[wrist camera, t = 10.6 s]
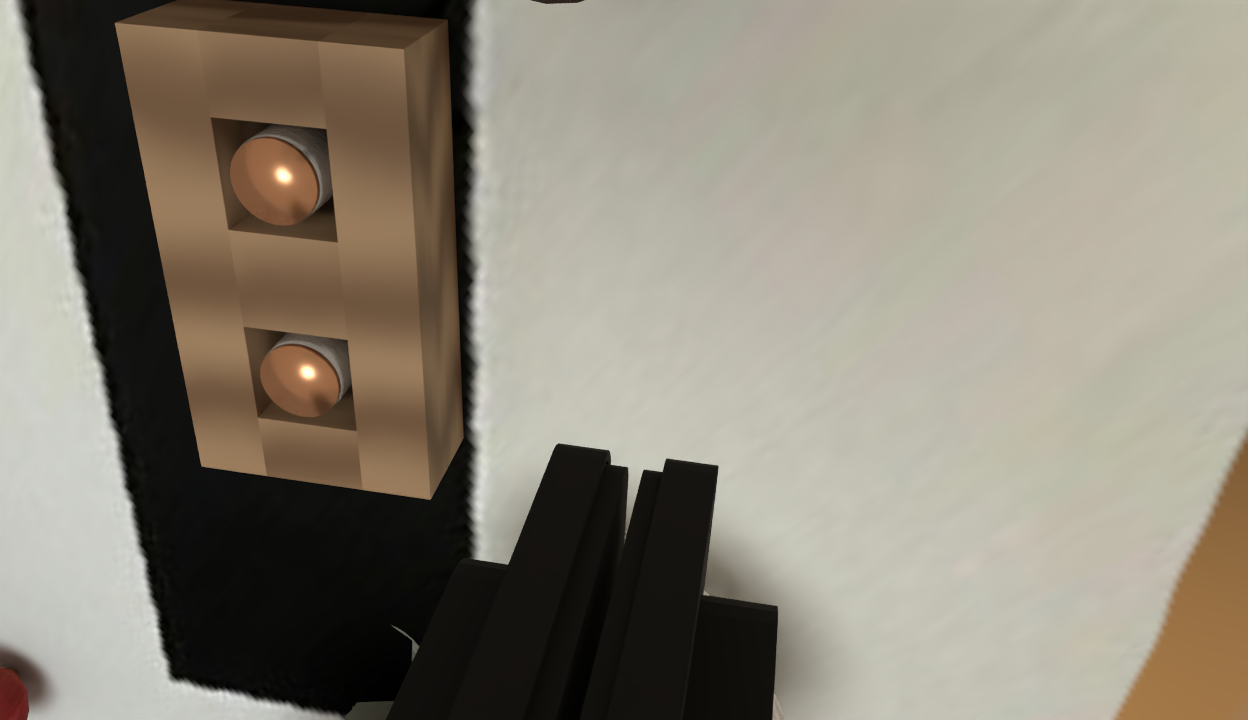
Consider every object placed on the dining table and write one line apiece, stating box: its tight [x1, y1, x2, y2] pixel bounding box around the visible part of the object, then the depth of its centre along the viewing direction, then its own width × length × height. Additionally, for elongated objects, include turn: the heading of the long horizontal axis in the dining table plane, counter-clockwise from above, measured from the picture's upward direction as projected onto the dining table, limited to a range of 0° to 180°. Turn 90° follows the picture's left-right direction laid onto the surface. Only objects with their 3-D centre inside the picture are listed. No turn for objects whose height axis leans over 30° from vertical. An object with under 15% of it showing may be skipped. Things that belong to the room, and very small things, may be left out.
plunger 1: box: [230, 124, 333, 226], centre depth 42 cm, size 4×4×5 cm
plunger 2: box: [260, 332, 352, 417], centre depth 46 cm, size 4×4×5 cm
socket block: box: [115, 0, 464, 500], centre depth 44 cm, size 20×11×5 cm, turn 177°
